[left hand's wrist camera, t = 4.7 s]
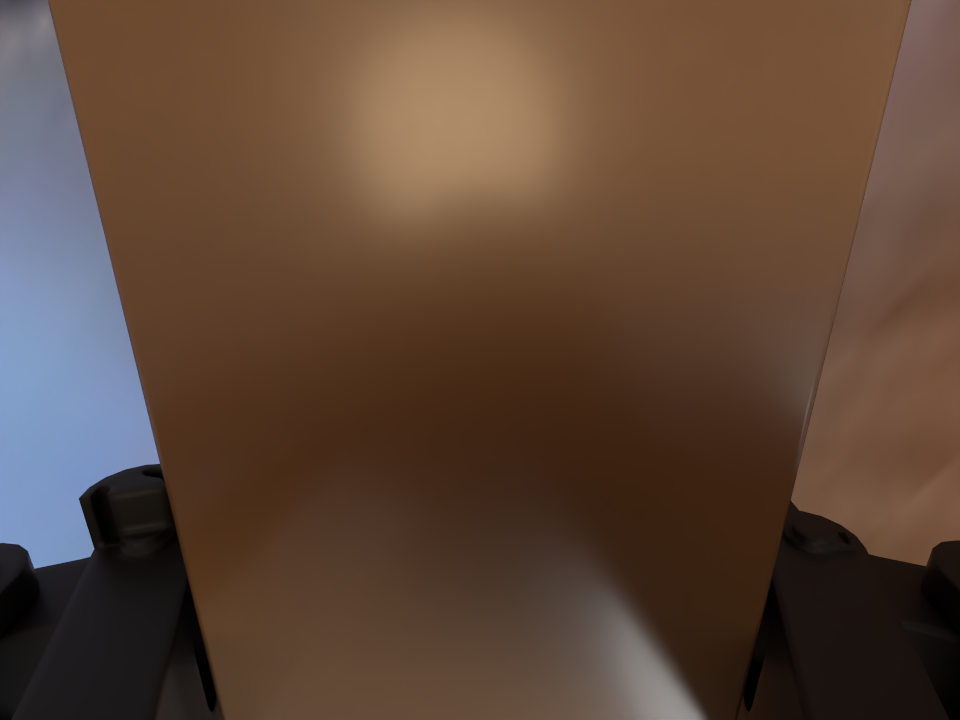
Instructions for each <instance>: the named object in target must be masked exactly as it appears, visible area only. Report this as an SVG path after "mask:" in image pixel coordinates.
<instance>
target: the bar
mask: <svg viewBox="0 0 960 720" xmlns="http://www.w3.org/2000/svg"><path fill="white" fill-rule="evenodd" d="M48 3H49V7H50V11H51V15H52V19H53V23H54V27H55V32H56V36H57V40H58V44H59V48H60V52H61V56H62V60H63V65H64V69H65V73H66V77H67V81H68V85H69V89H70V94H71V98H72V102H73V106H74V110H75V114H76V118H77V122H78V127H79V131H80V135H81V139H82V143H83V147H84V151H85V155H86V160H87V164H88V168H89V172H90V176H91V180H92V184H93V188H94V193H95V197H96V201H97V205H98V209H99V213H100V217H101V221H102V226H103V230H104V234H105V238H106V242H107V246H108V250H109V254H110V259H111V263H112V267H113V271H114V275H115V279H116V283H117V287H118V292H119V296H120V300H121V304H122V308H123V312H124V316H125V320H126V325H127V329H128V333H129V337H130V341H131V345H132V349H133V353H134V358H135V362H136V366H137V370H138V374H139V378H140V382H141V386H142V391H143V395H144V399H145V403H146V407H147V411H148V415H149V419H150V424H151V428H152V432H153V436H154V440H155V444H156V448H157V452H158V457H159V461H160V465H161V469H162V473H163V477H164V481H165V485H166V490H167V494H168V498H169V502H170V506H171V510H172V514H173V518H174V523H175V527H176V531H177V535H178V539H179V543H180V547H181V552H182V556H183V560H184V564H185V568H186V572H187V576H188V580H189V585H190V589H191V593H192V597H193V601H194V605H195V609H196V613H197V618H198V622H199V626H200V630H201V634H202V638H203V642H204V646H205V651H206V655H207V659H208V663H209V667H210V671H211V675H212V679H213V684H214V688H215V692H216V696H217V700H218V704H219V708H220V712H221V717H222V720H737V719H738V715H739V711H740V706H741V702H742V698H743V694H744V690H745V686H746V682H747V677H748V673H749V669H750V665H751V661H752V657H753V653H754V649H755V644H756V640H757V636H758V632H759V628H760V624H761V620H762V616H763V611H764V607H765V603H766V599H767V595H768V591H769V587H770V582H771V578H772V574H773V570H774V566H775V562H776V558H777V554H778V549H779V545H780V541H781V537H782V533H783V529H784V525H785V521H786V516H787V512H788V508H789V504H790V500H791V496H792V492H793V487H794V483H795V479H796V475H797V471H798V467H799V463H800V459H801V454H802V450H803V446H804V442H805V438H806V434H807V430H808V426H809V421H810V417H811V413H812V409H813V405H814V401H815V397H816V393H817V388H818V384H819V380H820V376H821V372H822V368H823V364H824V359H825V355H826V351H827V347H828V343H829V339H830V335H831V331H832V326H833V322H834V318H835V314H836V310H837V306H838V302H839V298H840V293H841V289H842V285H843V281H844V277H845V273H846V269H847V264H848V260H849V256H850V252H851V248H852V244H853V240H854V236H855V231H856V227H857V223H858V219H859V215H860V211H861V207H862V203H863V198H864V194H865V190H866V186H867V182H868V178H869V174H870V169H871V165H872V161H873V157H874V153H875V149H876V145H877V141H878V136H879V132H880V128H881V124H882V120H883V116H884V112H885V108H886V103H887V99H888V95H889V91H890V87H891V83H892V79H893V74H894V70H895V66H896V62H897V58H898V54H899V50H900V46H901V41H902V37H903V33H904V29H905V25H906V21H907V17H908V13H909V8H910V4H911V0H48Z"/></svg>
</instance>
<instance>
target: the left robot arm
mask: <svg viewBox="0 0 960 720" xmlns="http://www.w3.org/2000/svg"><path fill="white" fill-rule="evenodd" d="M79 501H80V504H81V507H82V510H83V513H84V517H85V520H86V523H87V526H88V529H89V533H90V536H91V539H92V542H93V545H94V551H93V553H92V555H91V557H88V558H85V559H80V560H75V561H71V562H66V563H61V564H56V565H51V566H46V567H41V568H36V569H34V567H33V564H32V562H31V559H30V556H29V553H28V551H27V550H25V549H24V548H23V547H21V546H20V545H16V544H6V543H0V720H222V717H221V712H220V708H219V704H218V700H217V696H216V692H215V688H214V684H213V679H212V675H211V671H210V667H209V663H208V659H207V655H206V651H205V646H204V642H203V638H202V634H201V630H200V626H199V622H198V618H197V613H196V609H195V605H194V601H193V597H192V593H191V589H190V585H189V580H188V576H187V572H186V568H185V564H184V560H183V556H182V552H181V547H180V543H179V539H178V535H177V531H176V527H175V523H174V518H173V514H172V510H171V506H170V502H169V498H168V494H167V490H166V485H165V481H164V477H163V473H162V469H161V465H160V464H154V465H144V466H139V467H135V468H130V469H126V470H123V471H121V472H118V473H116V474H113V475H111V476H108V477H106V478H104V479H102V480H101V481H99V482H98V483H96V484H94V485H93V486H91V487H89V488H88V489H87V491H86V492H85V493H84V494H83V495H82V496H81V497H80V498H79ZM738 720H960V541H948V542H941V543H940V544H938V545H937V546H935V547H934V548H933V549H932V552H931V555H930V557H929V560H928V563H927V566H921V565H917V564H912V563H907V562H902V561H897V560H892V559H887V558H882V557H877V556H874V555H870V554H868V552H867V550H866V548H865V547H864V546H863V544H862V543H861V542H860V540H859V539H858V538H857V537H856V536H855V535H854V534H852V533H851V532H850V531H848V530H847V529H845V528H844V527H843V526H841V525H840V524H837V523H835V522H833V521H831V520H829V519H826V518H824V517H822V516H819V515H815V514H811V513H807V512H803V511H799V510H798V509H797V508H796V506H795V505H794V504H793V503H792V502H791V501H790V504H789V508H788V512H787V516H786V521H785V525H784V529H783V533H782V537H781V541H780V545H779V549H778V554H777V558H776V562H775V566H774V570H773V574H772V578H771V582H770V587H769V591H768V595H767V599H766V603H765V607H764V611H763V616H762V620H761V624H760V628H759V632H758V636H757V640H756V644H755V649H754V653H753V657H752V661H751V665H750V669H749V673H748V677H747V682H746V686H745V690H744V694H743V698H742V702H741V706H740V711H739V715H738Z"/></svg>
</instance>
